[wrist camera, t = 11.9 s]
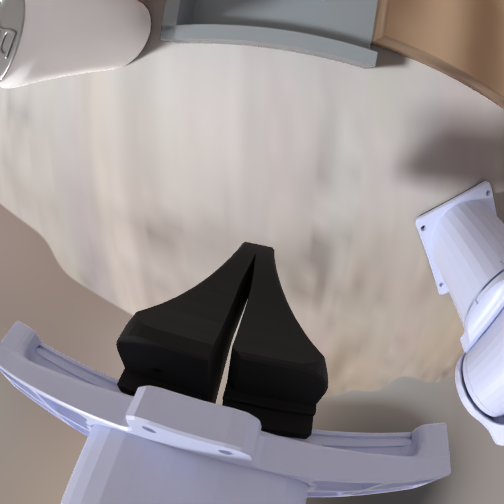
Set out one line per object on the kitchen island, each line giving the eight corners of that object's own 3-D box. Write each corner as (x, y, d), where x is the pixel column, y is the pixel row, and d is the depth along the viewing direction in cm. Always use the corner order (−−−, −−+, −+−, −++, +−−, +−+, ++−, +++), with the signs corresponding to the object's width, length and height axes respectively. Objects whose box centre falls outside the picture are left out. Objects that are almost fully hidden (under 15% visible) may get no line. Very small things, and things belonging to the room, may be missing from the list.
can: (115, -10, 13) (-1, -24, 3) (169, 15, 14) (48, -10, 5) (79, 52, 16) (-37, 74, 6) (125, 82, 18) (1, 115, 8)
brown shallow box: (520, 17, 7) (548, 16, 4) (509, 113, 13) (538, 124, 10) (382, -60, 8) (395, -81, 5) (369, 43, 14) (384, 35, 10)
